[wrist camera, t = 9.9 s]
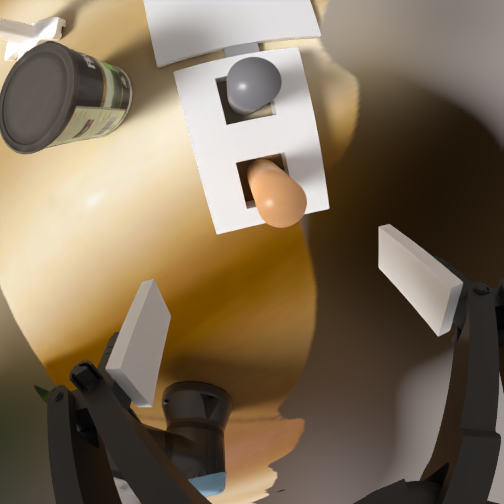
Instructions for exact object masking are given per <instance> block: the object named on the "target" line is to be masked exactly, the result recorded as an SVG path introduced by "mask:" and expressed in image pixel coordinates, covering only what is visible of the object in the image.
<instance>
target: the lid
mask: <svg viewBox="0 0 504 504" xmlns="http://www.w3.org/2000/svg"><path fill="white" fill-rule="evenodd" d="M144 5H145V11H146V16H147V21H148V26H149V31H150V36H151V41H152V45H153V50H154V55H155V59H156V64H157V67H159V68H160V67H163V66H166V65H169V64H172V63H175V62H178V61H182V60H185V59H189V58H192V57H196V56H199V55H203V54H207V53H211V52H216V51H220V50H224V53H225V57H226V58H228V57H232V56H238V55H243V54H248V53H254V52H260V50H259V46H258V43H265V42H273V41H282V40H292V39H307V38H320V37H321V33H320V29H319V26H318V23H317V20H316V17H315V14H314V11H313V8H312V5H311V2H310V0H144Z"/></svg>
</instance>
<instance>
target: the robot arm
mask: <svg viewBox="0 0 504 504" xmlns="http://www.w3.org/2000/svg"><path fill="white" fill-rule="evenodd" d="M379 268H380V270H381V271H382V272H383V273H384V274H385V275H386V276H387V277H388V278H389V279H390V280H391V282H392V283H393V284H394V285H395V286H396V287H397V288H398V289H399V291H400V292H401V293H402V294H403V295H404V296H405V297H406V298H407V300H408V301H409V302H410V303H411V304H412V305H413V307H414V308H415V309H416V310H417V311H418V312H419V314H420V315H421V316H422V317H423V318H424V320H425V321H426V322H427V323H428V325H429V326H430V327H431V328H432V330H433V331H434V332H435V333H436V335H437V336H440V335H442V334H444V333H446V332H448V331H450V328H451V325H452V322H454V323H455V324H456V325H457V327H456V330H455V333H454V336H453V339H452V342H451V343H453V342H454V340H455V342H454V353H453V362H452V370H451V377H450V383H449V389H448V395H447V400H446V405H445V410H444V414H443V419H442V422H441V427H440V431H439V434H438V438H437V441H436V444H435V448H434V451H433V454H432V457H431V459H430V461H429V463H428V464H427V466H426V468H425V470H424V472H423V474H422V476H421V479H420V481H411V482H405V479H402V480H400V481H398V482H395V483H393V484H391V485H388V486H386V487H384V488H381V489H379V490H376V491H374V492H372V493H371V494H369V495H367V496H366V497H364V498H362V499H361V500H359V501H357V502H355V503H354V504H498V503H495V502H490V501H487V499H488V495H489V492H490V489H491V485H492V482H493V478H494V474H495V470H496V466H497V461H498V456H499V451H500V445H501V436H500V434H498V433H496V431H495V427H496V419H497V408H498V395H499V372H500V376H501V381H502V386H503V392H504V278H503V279H502V281H501V284H500V287H497V288H490V287H489V286H488V285H487V284H485V283H483V282H472V283H471V282H470V281H469V280H468V279H467V278H465V276H463V275H462V274H461V273H460V272H459V271H457V270H455V268H454V267H453V266H450V264H449V263H447V262H446V261H445V260H444V259H441V258H439V257H437V256H434V257H432V256H431V255H429V253H427V252H426V251H425V250H423V249H422V248H421V247H419V246H418V245H417V244H416V243H414V242H413V241H412V240H410V239H409V238H408V237H406V236H405V235H404V234H402V233H400V231H398V230H397V229H395V228H394V227H393V226H391V225H390V224H388V225H384V226H380V227H379ZM170 319H171V315H170V313H169V311H168V309H167V307H166V305H165V302H164V300H163V298H162V296H161V294H160V291H159V289H158V287H157V285H156V282H155V280H154V279H151V280H147V281H142V283H141V285H140V287H139V290H138V292H137V294H136V296H135V298H134V300H133V303H132V305H131V307H130V309H129V312H128V314H127V316H126V319H125V321H124V323H123V326H122V328H121V330H120V332H115V333H114V335H113V336H112V337H111V338H110V339H109V342H108V344H107V346H106V349H105V351H104V354H103V356H102V358H101V361H100V363H99V366H98V368H97V369H96V367H95V366H94V365H93V364H92V362H90V361H82V362H80V363H78V364H77V365H76V366H74V368H73V369H72V370H71V372H70V375H69V376H70V380H71V381H72V383H73V384H74V385H75V386H76V387H77V388H78V389H76V390H73V391H69V390H68V389H67V388H66V387H65V386H64V385H59V386H57V387H55V388H53V390H51V392H50V394H49V395H48V405H47V414H48V415H47V424H48V447H49V459H50V469H51V476H52V483H53V489H54V495H55V500H56V504H139V501H140V502H141V504H212V503H211V502H209V501H208V500H207V499H206V498H205V497H208V496H214V495H217V494H220V493H221V492H223V491H224V489H225V482H226V470H225V449H224V430H225V427H226V425H227V422H228V419H229V416H230V414H231V409H232V408H231V398H230V396H229V395H228V394H227V393H226V392H225V391H223V390H222V389H220V388H218V387H216V386H213V385H210V384H206V383H200V382H181V383H176V384H173V385H171V386H169V387H167V388H166V389H165V390H164V392H163V397H162V408H163V412H164V416H165V420H166V424H167V429H166V431H164V430H161V429H158V428H155V427H151V426H148V425H145V424H142V423H141V421H140V420H139V419H138V417H137V416H136V414H135V413H134V411H133V410H132V409H131V408H130V404H131V400H132V402H133V403H134V404H135V405H136V406H137V407H152V404H153V399H154V393H155V388H156V383H157V378H158V373H159V368H160V363H161V358H162V354H163V349H164V344H165V340H166V336H167V331H168V327H169V323H170Z"/></svg>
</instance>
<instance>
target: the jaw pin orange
mask: <svg viewBox="0 0 504 504" xmlns="http://www.w3.org/2000/svg"><path fill="white" fill-rule="evenodd" d="M247 179H248V182H249V185H250V188H251V191H252V194H253V197H254V200H255V203H256V206H257V209H258V212H259V215H260V216H261V218H262V219H263V220H264V221H265V222H266V223H267V224H269V225H271V226H274V227H280V228H281V227H288V226H291V225H293V224H295V223H296V222H298V221H299V220H300V219H301V218H302V216H303V215H304V213H305V210H306V207H307V198H306V194H305V192H304V190H303V189H302V187H301V186H300V185H299V184H298V183H296V182H295V181H294V180H293V179H292V178H291V177H290V176H288V175H287V174H286V173H285V172H284V171H283V170H281V169H280V168H279V167H278V166H277V165H276V164H274V163H273V162H272V161H270V160H267V159H259V160H257V161H255V162H253V163H252V164H251V165H250V166H249V168H248V171H247Z"/></svg>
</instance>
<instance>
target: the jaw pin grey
mask: <svg viewBox="0 0 504 504" xmlns="http://www.w3.org/2000/svg"><path fill="white" fill-rule="evenodd" d="M281 84H282V79H281V75H280V72H279V70H278V69H277V68H276V66H275V65H274V64H273V63H271V62H270V61H268V60H266V59H263V58H260V57H248V58H244V59H241V60H239V61H238V62H236V63H235V64H234V65H233V66H232V67H231V69H230V70H229V72H228V75H227V96H228V104H229V106H230V107H231V109H232V110H233V111H235V112H237V113H239V114H250V113H253V112H254V111H256V110H258V109H259V108H261V107H262V106H264V105H266V104H267V103H269V102H271V101H272V100H273V99H274V98H275V97H276V96H277V95H278V93H279V91H280V89H281Z"/></svg>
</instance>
